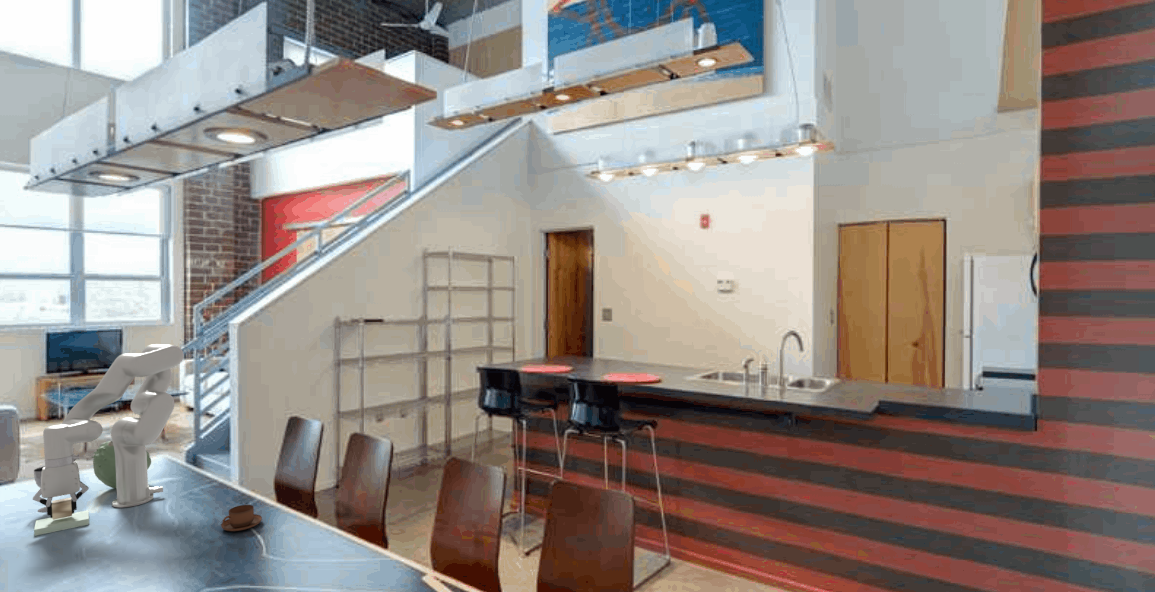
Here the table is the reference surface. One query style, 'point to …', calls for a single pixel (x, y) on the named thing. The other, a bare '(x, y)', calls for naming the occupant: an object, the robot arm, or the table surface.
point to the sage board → (61, 523)
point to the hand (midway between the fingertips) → (62, 514)
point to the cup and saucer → (241, 518)
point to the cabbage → (108, 464)
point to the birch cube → (61, 508)
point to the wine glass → (39, 483)
